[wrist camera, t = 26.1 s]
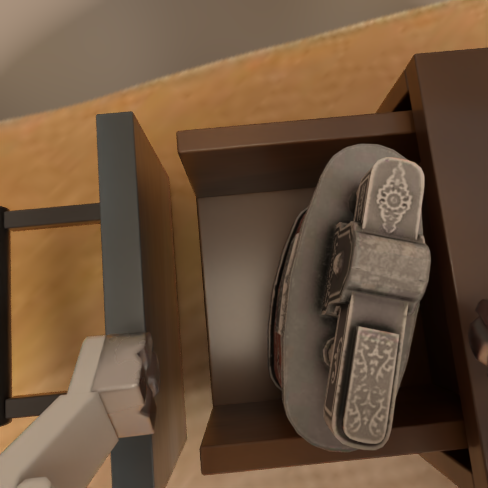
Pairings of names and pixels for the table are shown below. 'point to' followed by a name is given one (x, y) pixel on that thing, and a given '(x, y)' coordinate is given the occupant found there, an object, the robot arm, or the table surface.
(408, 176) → the lighter
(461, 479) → the cabinet
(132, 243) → the drawer
